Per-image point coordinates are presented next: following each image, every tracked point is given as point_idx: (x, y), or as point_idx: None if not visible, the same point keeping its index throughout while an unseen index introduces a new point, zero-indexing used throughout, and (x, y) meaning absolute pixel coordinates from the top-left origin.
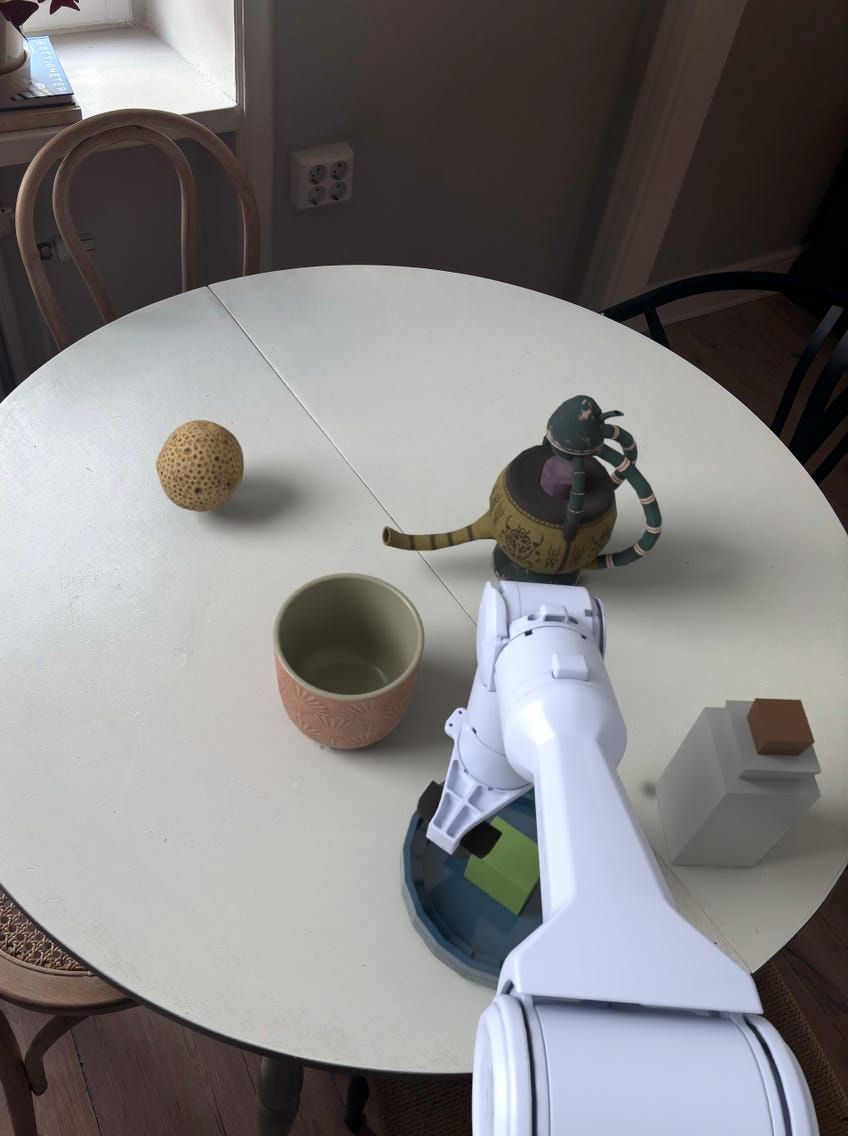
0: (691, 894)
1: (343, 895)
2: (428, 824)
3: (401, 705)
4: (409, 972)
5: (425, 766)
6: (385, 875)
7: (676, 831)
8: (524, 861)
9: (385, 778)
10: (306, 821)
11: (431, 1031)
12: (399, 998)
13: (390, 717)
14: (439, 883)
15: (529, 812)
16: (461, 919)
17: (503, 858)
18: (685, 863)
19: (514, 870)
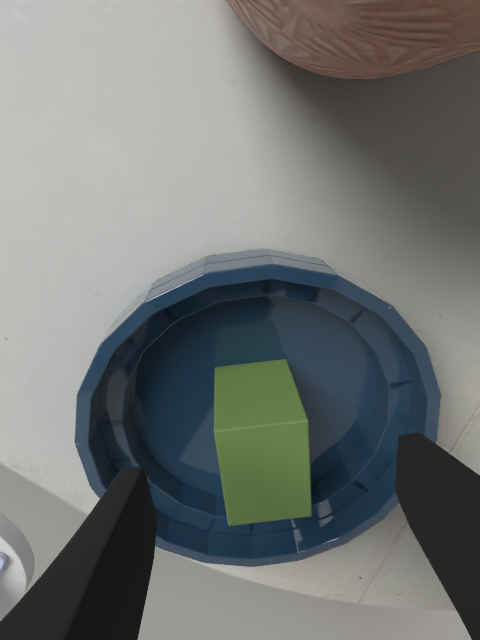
0: (395, 544)
1: (43, 243)
2: (229, 290)
3: (413, 60)
4: (57, 387)
5: (332, 188)
6: (125, 272)
7: None
8: (268, 495)
9: (259, 143)
10: (71, 79)
11: (34, 446)
12: (23, 398)
13: (359, 60)
14: (178, 348)
15: (368, 376)
16: (163, 400)
17: (245, 473)
18: None
19: (242, 493)
